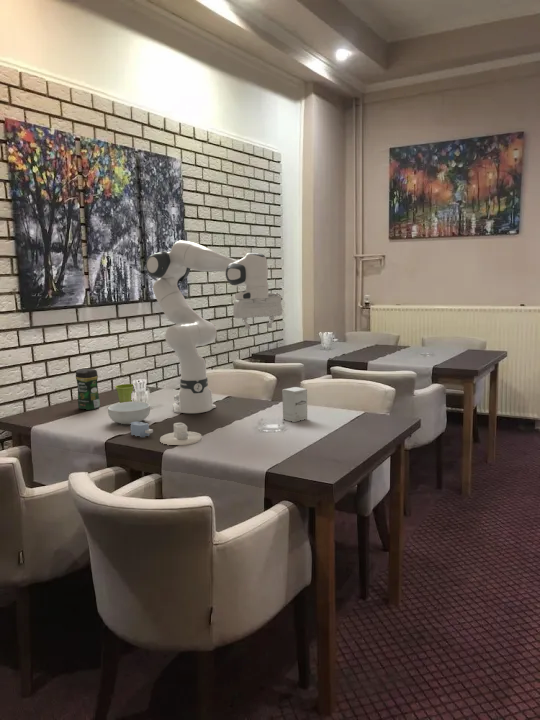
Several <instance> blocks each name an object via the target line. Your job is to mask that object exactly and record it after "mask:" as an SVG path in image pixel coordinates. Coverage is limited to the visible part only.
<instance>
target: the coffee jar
mask: <svg viewBox="0 0 540 720" xmlns="http://www.w3.org/2000/svg"><path fill="white" fill-rule="evenodd" d="M98 375H99V374H98V370H96V369H95V368H88V367H87V368H85V367H83V368H78V369H77V370H76V371H75V380H76V385H77V408H78V409H80V410H84V409H86V410H87V411H90V410H91V411H92V410H97V409H98V408H100V407H101V402H100V401H101V400H100V395H99V387H98V379H99V376H98ZM96 408H97V409H96Z"/></svg>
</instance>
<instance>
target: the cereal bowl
mask: <svg viewBox="0 0 540 720" xmlns="http://www.w3.org/2000/svg"><path fill="white" fill-rule="evenodd" d="M150 412H151V404H150V403H149V402H146V401H136V400H135V401H134V400H133V402H123V403H120V402H119V403H114V404H112V405H109V406H108V407H107V413H108V417H109V418H110V420H112V421H113V422H115V423H118V424H120V423H121V424H120V425H122V424H130V423H132V422H142V421H144V420H146V418H147V417H149V415H150Z"/></svg>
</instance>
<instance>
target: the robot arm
mask: <svg viewBox="0 0 540 720" xmlns="http://www.w3.org/2000/svg"><path fill="white" fill-rule="evenodd" d="M145 269H146V273H148V275H150V276H152V277H154V278H157V280H155V281H154V283H153V285H152V290H153V294H154V296H155V298H156V299H155V300H156V301H157V303H158V305H159V307H160V308H161V310H162V312H163V313H164V315H165V317H166V319H167V320H168V321H169V322H171V323H173V324H174V325H170V326H169V327H167V329H166V330H165V334H164V337H165V338H164V339H165V342H166V344H167V345H168V347H169V348H171V349H172V350H173V351H174V352H175V354H176V356H177V359H178V361H179V368H180V380H179V387H180V388H179V389H178V392H177V394H175V395H174V396H173V400H174V401H176V402H174V403H173V402H172V408H173V411H174V413H176V414H177V413H178V414H179V413H181V414H182V413H183V414H201V413H205V412H206V413H207V412H210V411H211V410H213V409H215V408H217V405H216V404H214V403H213V397H212V396H213V393H212V389H210V387H208V386H209V380H208V377H207V363H206V360H205V358H204V357H203V356H201V355H199V353H198V350H197V347H202V346H207V345H209V344H211V343H213V342H214V341H215V340H216V339H217V334H218V332H217V328H216V326H215V324H214V323H213V322H211V321H209V320H206V319H205V318H203V317H202V316H200V314H198V313H197V311H195V310H194V309H193V308H192V307H191V306H190V305H189V302H188V301H187V300H186V298H185V296H184V295H183V293H182V291H181V290H180V288H179V287H178V284H181V283H183V282H184V280H185V279H186V278H187V277H188V276H189V274H190V272H191V270H193V271H197V272H225V278H226V281H227V282H228V284H230V285H231V286H234V287H241V286H242V287H243V286H245V288H246V289H244V290H242V291H240V292H237V293H235V294H234V298H235V300H234V303H233V306H232V307H233V314H232V315H233V317H234V318H235V319H241V321H242V323H243V324H244V328H245V330H251V325H250V324H248V322H247V321H248V319H252V318H265V317H267V318H268V319H269V321H268V322H267V323H266V329H269V328H273V323H274V320H275V317H278V316H279V317H280V316H282V314H283V307H282V306H283V305H282V296H281V295H280V293H278V292H274V293H272V292H269V283H268V276H269V269H268V260H267V257H266V256H265V254H262V253H257V252H247V253H246V254H245V255H244V256H243V257H242V258H241V259H237V258H233V257H229V256H227V255H224V254H222V253H220V252H217V251H216V250H215V251H214V250H212V249H211V248H209V247H207V246H204V245H202V244H199V243H197V242H193V241H188V240H177V241H176V242H175V243H173V245H172V246H171V250H170V251H165V250H163V251H160V252H155V253H152V254H151V255H149V256H148V258H147V259H146V262H145Z"/></svg>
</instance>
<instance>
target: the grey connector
mask: <svg viewBox="0 0 540 720" xmlns="http://www.w3.org/2000/svg"><path fill="white" fill-rule="evenodd" d="M187 431H188V426H187V425H186V423H183V422H175V423H173V432H174V437H175V438H176V439H178V440H186V439H188V433H187Z"/></svg>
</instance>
